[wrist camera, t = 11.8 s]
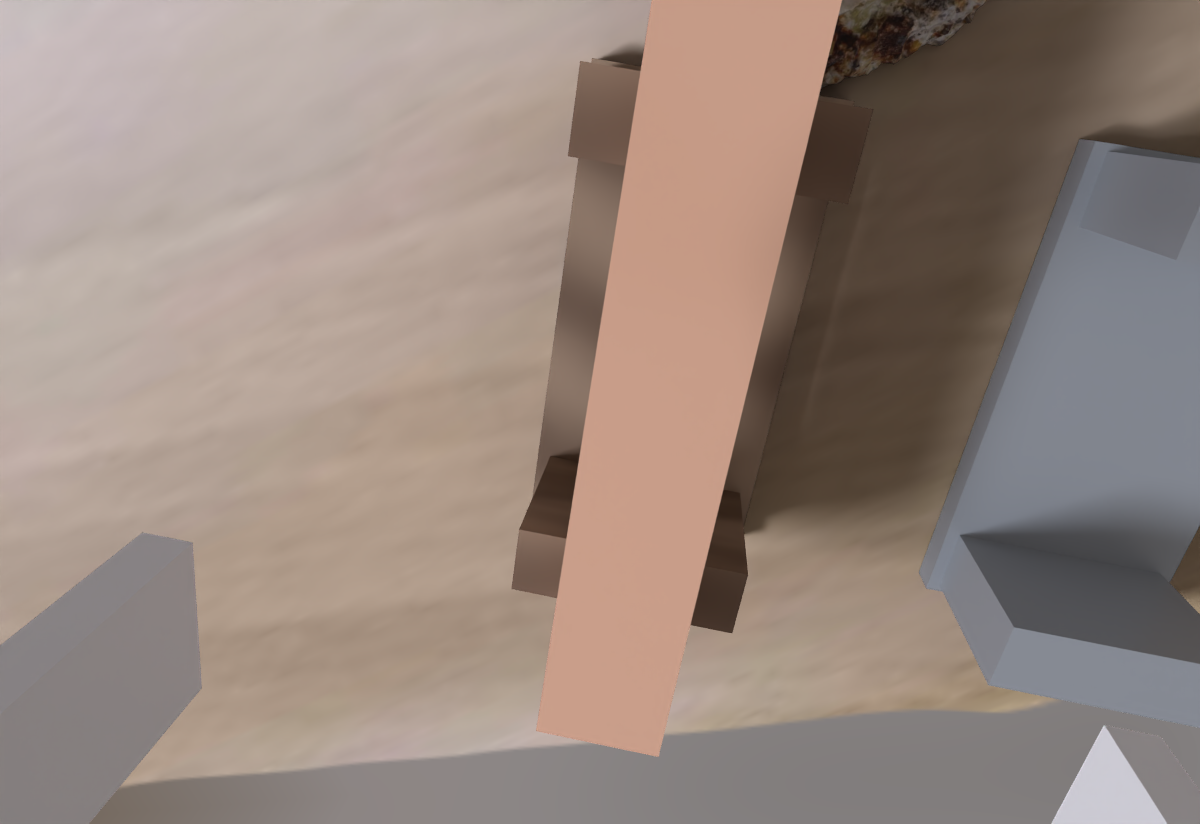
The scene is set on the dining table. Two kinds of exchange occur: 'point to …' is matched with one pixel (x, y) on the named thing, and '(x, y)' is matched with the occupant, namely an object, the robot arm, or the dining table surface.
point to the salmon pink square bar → (677, 347)
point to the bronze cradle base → (585, 274)
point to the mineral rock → (890, 32)
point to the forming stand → (1090, 453)
